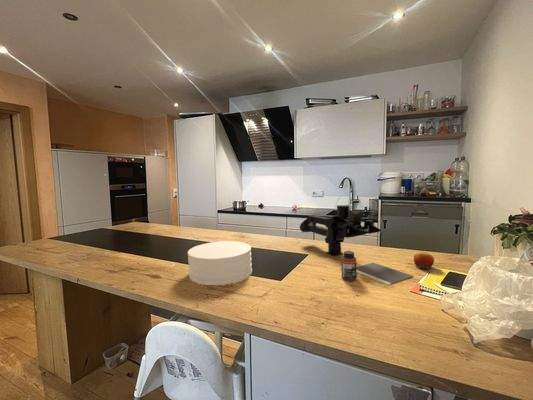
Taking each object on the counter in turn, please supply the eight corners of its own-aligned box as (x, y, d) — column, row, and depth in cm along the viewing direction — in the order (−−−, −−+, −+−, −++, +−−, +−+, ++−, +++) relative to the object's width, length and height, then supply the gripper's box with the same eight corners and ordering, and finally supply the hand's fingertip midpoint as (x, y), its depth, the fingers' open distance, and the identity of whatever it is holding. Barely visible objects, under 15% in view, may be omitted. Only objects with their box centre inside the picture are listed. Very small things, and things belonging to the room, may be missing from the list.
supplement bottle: (345, 274, 116) (345, 249, 115) (358, 277, 112) (358, 251, 111) (339, 279, 111) (339, 252, 110) (353, 282, 107) (353, 255, 106)
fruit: (413, 267, 118) (413, 249, 121) (413, 271, 124) (413, 254, 127) (435, 269, 114) (435, 251, 117) (433, 273, 121) (433, 256, 124)
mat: (349, 269, 121) (349, 268, 121) (373, 263, 129) (373, 262, 129) (388, 285, 104) (388, 284, 104) (413, 276, 111) (413, 275, 111)
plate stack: (241, 288, 106) (240, 259, 105) (177, 284, 112) (175, 257, 111) (258, 264, 133) (257, 241, 132) (205, 262, 139) (204, 240, 138)
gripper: (333, 212, 131) (358, 216, 117) (361, 208, 139) (387, 212, 126) (333, 234, 132) (358, 241, 118) (360, 229, 141) (386, 235, 127)
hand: (373, 231), depth 122 cm, fingers open, 9 cm apart
